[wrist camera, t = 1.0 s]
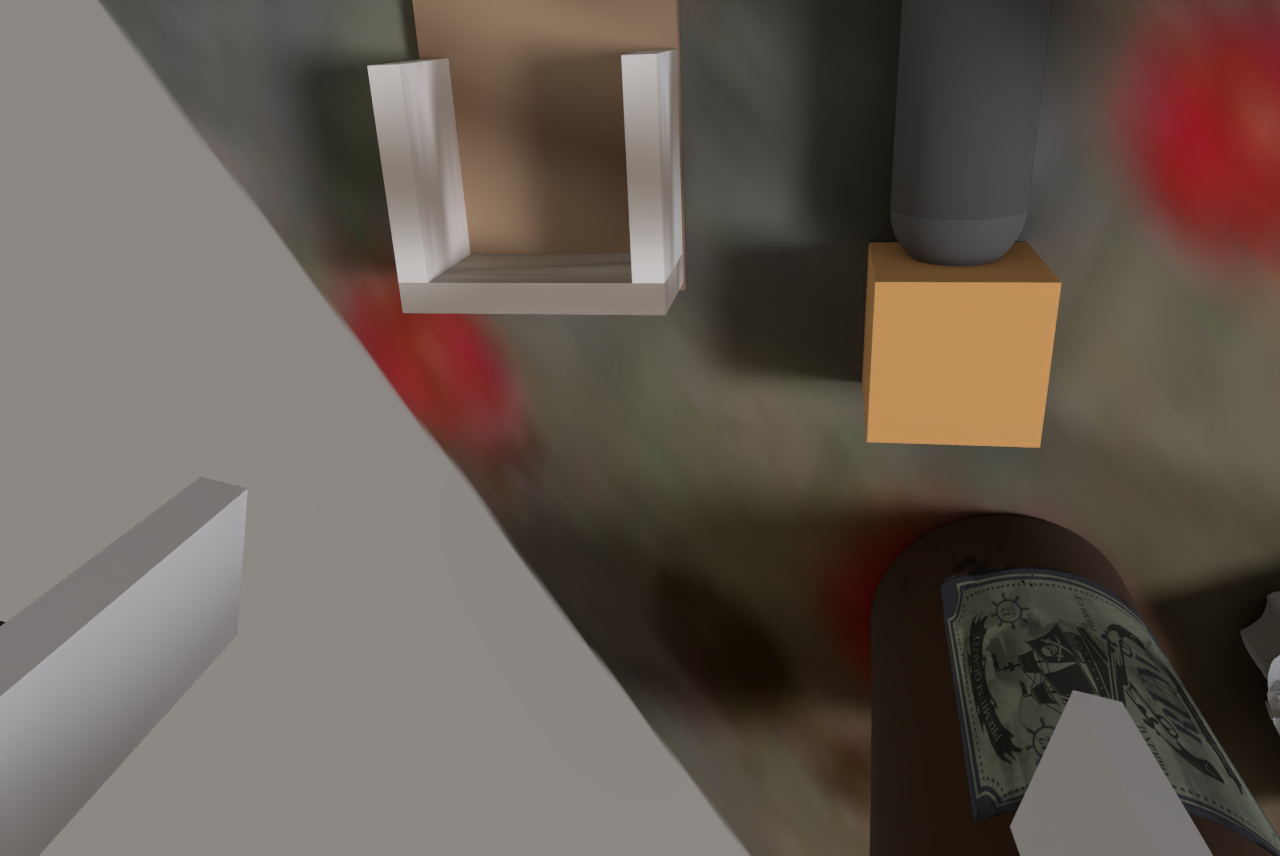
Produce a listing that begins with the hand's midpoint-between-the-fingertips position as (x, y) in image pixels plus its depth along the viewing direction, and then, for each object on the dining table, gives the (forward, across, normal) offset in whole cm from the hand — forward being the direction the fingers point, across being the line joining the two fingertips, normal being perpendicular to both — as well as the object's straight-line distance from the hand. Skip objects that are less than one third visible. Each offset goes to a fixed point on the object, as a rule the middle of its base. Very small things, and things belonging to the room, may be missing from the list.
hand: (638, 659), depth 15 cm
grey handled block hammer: (+20, +6, +11) cm, 23 cm away
